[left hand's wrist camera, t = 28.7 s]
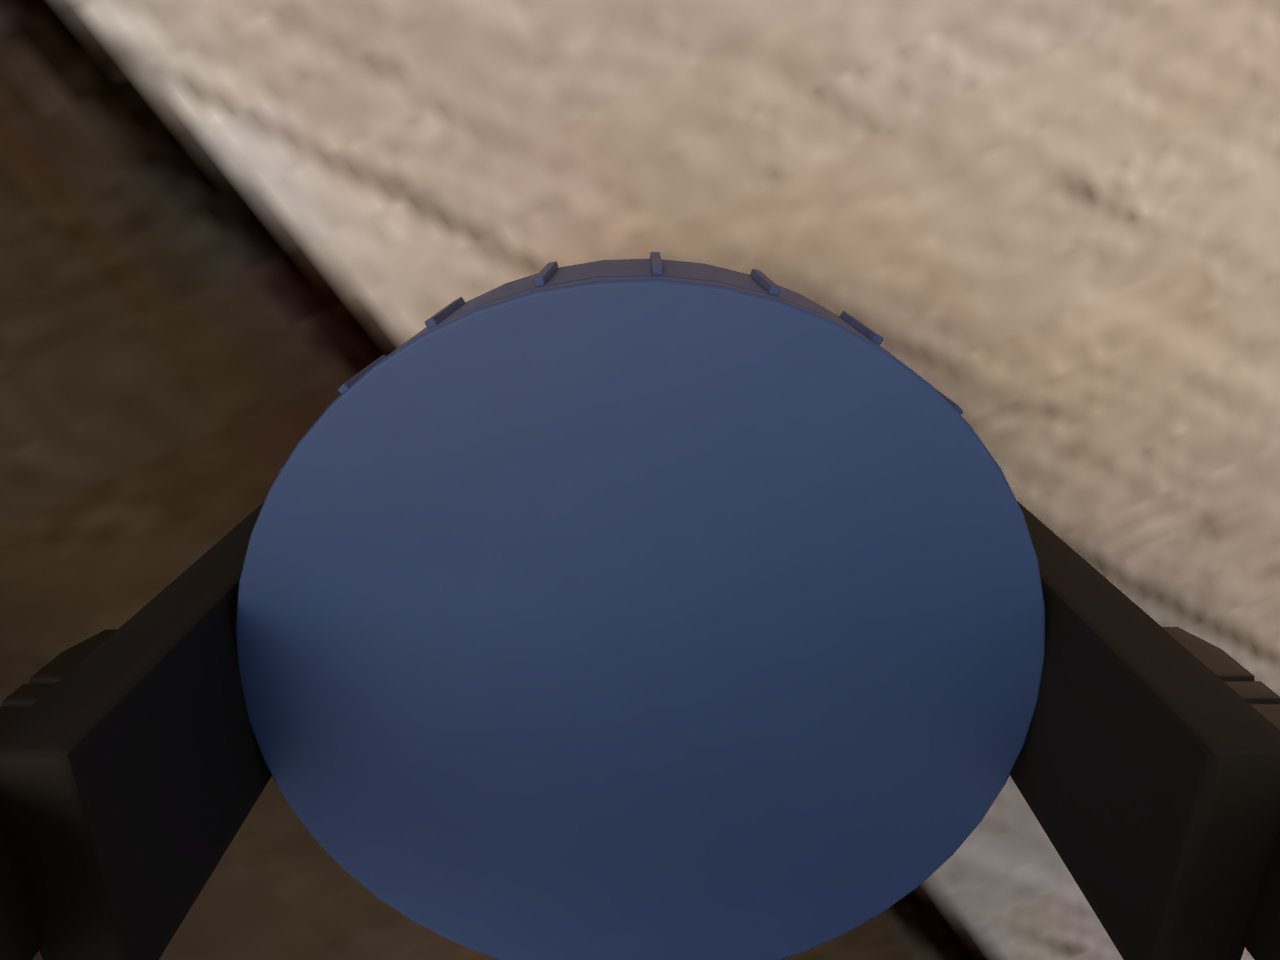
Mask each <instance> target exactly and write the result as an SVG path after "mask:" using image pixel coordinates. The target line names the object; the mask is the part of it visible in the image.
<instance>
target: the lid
mask: <svg viewBox="0 0 1280 960" xmlns="http://www.w3.org/2000/svg"><path fill="white" fill-rule="evenodd" d="M425 324H426V326H427V327H426V328H425V329H423V330H422V331H421V332H419V333H418V334H416V335H415V336H414V337H412V338H411V339H410V340H408V341H407V342H406V343H404V344H403V345H401V346H400V347H399V348H397V349H396V350H395V351H393V352H392V353H391V354H389V355H388V356H387V357H386V356H385V355H383V356H381V357H380V358H378V359H377V360H376V361H374V362H373V363H372V364H370V365H369V366H367V367H366V368H365V369H363V370H362V371H360V372H359V373H358V374H356V375H355V376H353V377H352V378H351V379H349V380H348V381H347V382H345V383H344V384H343V385H342V386H341V387H340V388H339V389H338V391H339V392H340V393H341V395H340V396H339V397H338V398H337V399H336V400H334V401H333V402H332V403H331V404H330V406H329V407H328V408H327V409H326V410H325V412H324V413H323V414H322V415H321V416H320V417H319V419H318V420H317V421H316V422H315V423H314V425H313V426H312V427H311V428H310V429H309V430H308V432H307V433H306V434H305V435H304V436H303V438H302V439H301V440H300V441H299V442H298V444H297V445H296V447H295V448H294V450H293V452H292V453H291V455H290V456H289V458H288V460H287V461H286V463H285V465H284V466H283V467H282V468H281V470H280V472H279V474H278V476H277V478H276V479H275V481H274V483H273V484H272V486H271V488H270V490H269V492H268V494H267V497H266V499H265V502H264V504H263V506H262V509H261V511H260V514H259V516H258V518H257V521H256V523H255V526H254V528H253V531H252V533H251V536H250V540H249V544H248V548H247V553H246V557H245V561H244V565H243V569H242V573H241V577H240V581H239V593H238V606H237V618H236V643H237V657H238V666H239V672H240V678H241V683H242V688H243V693H244V698H245V703H246V708H247V713H248V718H249V722H250V725H251V727H252V730H253V733H254V735H255V738H256V740H257V743H258V746H259V748H260V751H261V754H262V756H263V759H264V761H265V763H266V765H267V767H268V769H269V771H270V773H271V774H272V776H273V778H274V780H275V782H276V783H277V785H278V787H279V789H280V791H281V793H282V794H283V796H284V798H285V800H286V801H287V803H288V804H289V806H290V807H291V808H292V810H293V811H294V812H295V814H296V815H297V816H298V818H299V819H300V821H301V822H302V823H303V825H304V826H305V827H306V829H307V830H308V831H309V833H310V834H311V836H312V837H313V838H314V839H315V840H316V841H317V842H318V843H319V844H320V845H321V846H322V847H323V849H324V850H325V851H326V852H327V853H328V854H329V855H330V856H331V857H332V858H333V859H334V860H335V861H336V862H337V863H338V864H339V865H340V867H341V868H342V869H343V870H345V871H346V872H347V873H348V874H349V875H351V876H352V877H353V878H354V879H355V880H357V881H358V882H359V883H360V884H361V885H363V886H364V887H365V888H366V889H367V890H369V891H370V892H371V893H372V894H373V895H375V896H376V897H377V898H379V899H380V900H382V901H383V902H385V903H386V904H388V905H389V906H391V907H392V908H394V909H395V910H397V911H398V912H400V913H401V914H403V915H404V916H406V917H407V918H409V919H410V920H412V921H413V922H415V923H417V924H419V925H421V926H423V927H425V928H427V929H429V930H431V931H433V932H435V933H437V934H439V935H441V936H442V937H444V938H446V939H448V940H450V941H452V942H454V943H457V944H459V945H462V946H464V947H467V948H470V949H472V950H475V951H477V952H480V953H483V954H485V955H488V956H490V957H493V958H495V959H499V960H781V959H784V958H787V957H790V956H793V955H796V954H799V953H802V952H805V951H807V950H810V949H812V948H814V947H816V946H819V945H821V944H823V943H825V942H828V941H830V940H832V939H834V938H837V937H839V936H841V935H843V934H846V933H847V932H849V931H851V930H853V929H854V928H856V927H858V926H859V925H861V924H863V923H865V922H866V921H868V920H870V919H872V918H873V917H875V916H877V915H879V914H880V913H882V912H884V911H885V910H887V909H888V908H889V907H891V906H892V905H893V904H895V903H896V902H897V901H899V900H900V899H902V898H903V897H904V896H906V895H907V894H908V893H910V892H911V891H913V890H914V889H915V888H917V887H918V886H919V885H920V884H922V883H923V882H924V881H925V880H926V879H927V878H928V877H929V876H930V875H931V874H932V873H933V872H935V871H936V870H937V869H938V868H939V867H940V866H941V865H942V864H943V863H944V862H945V861H946V860H948V859H949V858H950V857H951V856H952V855H953V854H954V852H955V851H956V850H957V849H958V848H959V847H960V845H961V844H962V843H963V842H964V841H965V839H966V838H967V837H968V836H969V835H970V834H971V832H972V831H973V830H974V829H975V828H976V827H977V825H978V824H979V823H980V822H981V820H982V819H983V817H984V816H985V814H986V813H987V811H988V810H989V808H990V807H991V805H992V804H993V802H994V800H995V799H996V797H997V796H998V794H999V793H1000V791H1001V790H1002V788H1003V787H1004V785H1005V783H1006V781H1007V779H1008V777H1009V775H1010V773H1011V771H1012V769H1013V766H1014V764H1015V762H1016V760H1017V758H1018V756H1019V754H1020V752H1021V750H1022V747H1023V745H1024V743H1025V740H1026V737H1027V733H1028V730H1029V727H1030V724H1031V721H1032V717H1033V714H1034V711H1035V708H1036V704H1037V699H1038V694H1039V688H1040V683H1041V677H1042V670H1043V664H1044V657H1045V605H1044V598H1043V592H1042V585H1041V578H1040V572H1039V565H1038V560H1037V556H1036V553H1035V550H1034V547H1033V544H1032V541H1031V537H1030V534H1029V531H1028V528H1027V525H1026V522H1025V518H1024V515H1023V513H1022V511H1021V509H1020V507H1019V505H1018V503H1017V501H1016V499H1015V497H1014V495H1013V493H1012V491H1011V489H1010V487H1009V485H1008V483H1007V481H1006V479H1005V477H1004V474H1003V472H1002V470H1001V468H1000V467H999V466H998V464H997V463H996V461H995V460H994V459H993V457H992V456H991V454H990V453H989V451H988V450H987V449H986V447H985V446H984V444H983V443H982V442H981V440H980V439H979V437H978V436H977V434H976V433H975V432H974V430H973V429H972V427H971V426H970V425H969V424H968V423H967V422H966V421H965V420H964V419H963V418H962V416H961V414H962V413H963V411H962V410H961V408H960V407H959V406H958V405H957V404H955V403H954V402H953V401H951V400H950V399H948V398H947V397H946V396H944V395H943V394H942V393H940V392H939V391H938V390H936V389H935V388H934V387H933V386H932V385H930V384H929V383H928V382H926V381H925V380H924V379H923V378H921V377H920V376H919V375H917V374H916V373H915V372H913V371H912V370H911V369H910V368H908V367H907V366H906V365H904V364H903V363H902V362H901V361H899V360H898V359H897V358H895V357H894V356H893V355H891V354H890V353H889V352H888V351H886V350H885V349H883V348H882V347H881V346H879V345H880V344H881V342H882V341H883V340H884V339H883V338H882V337H881V336H879V335H878V334H876V333H875V332H873V331H872V330H870V329H869V328H868V327H866V326H865V325H863V324H862V323H860V322H859V321H857V320H856V319H855V318H853V317H852V316H850V315H849V314H847V313H846V312H844V311H843V312H842V313H841V315H840V316H837V315H836V314H834V313H832V312H830V311H829V310H827V309H825V308H823V307H821V306H820V305H818V304H816V303H814V302H813V301H811V300H809V299H807V298H806V297H804V296H802V295H800V294H798V293H795V292H793V291H790V290H788V289H785V288H783V287H780V286H778V285H776V284H775V283H774V282H772V281H771V280H770V279H769V278H768V277H766V276H765V275H764V274H763V273H762V272H760V271H758V270H755V269H752V272H751V275H748V274H744V273H740V272H735V271H731V270H727V269H723V268H719V267H715V266H711V265H707V264H700V263H690V262H681V261H671V260H662V259H661V257H660V253H659V252H651V256H650V259H630V260H603V261H597V262H591V263H585V264H579V265H573V266H567V267H561V268H558V265H557V262H552V263H548V264H547V265H546V266H545V267H544V268H543V269H542V270H541V271H540V273H538V274H535V275H532V276H529V277H525V278H522V279H519V280H516V281H513V282H509V283H506V284H504V285H502V286H500V287H498V288H496V289H493V290H491V291H489V292H487V293H485V294H483V295H481V296H479V297H476V298H474V299H472V300H470V301H468V302H466V303H465V302H464V300H463V298H462V297H460V298H459V299H457V300H455V301H454V302H452V303H451V304H449V305H448V306H447V307H445V308H444V309H442V310H441V311H440V312H438V313H437V314H435V315H434V316H432V317H431V318H430V319H428V320H427V321H425Z"/></svg>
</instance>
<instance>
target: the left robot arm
mask: <svg viewBox="0 0 1280 960" xmlns="http://www.w3.org/2000/svg"><path fill="white" fill-rule="evenodd" d="M1016 501H1017V500H1016ZM1017 503H1018V505H1019V507H1020V509H1021V511H1022V513H1023V515H1024V518H1025V522H1026V525H1027V528H1028V531H1029V534H1030V537H1031V541H1032V544H1033V547H1034V550H1035V553H1036V556H1037V560H1038V565H1039V572H1040V578H1041V585H1042V592H1043V598H1044V605H1045V657H1044V664H1043V670H1042V677H1041V683H1040V688H1039V694H1038V699H1037V704H1036V708H1035V711H1034V714H1033V717H1032V721H1031V724H1030V727H1029V730H1028V733H1027V737H1026V740H1025V743H1024V745H1023V747H1022V750H1021V752H1020V754H1019V756H1018V758H1017V760H1016V762H1015V764H1014V766H1013V769H1012V771H1011V773H1010V776H1011V777H1012V779H1013V780H1014V782H1015V784H1016V785H1017V787H1018V789H1019V790H1020V792H1021V793H1022V795H1023V797H1024V798H1025V800H1026V802H1027V803H1028V805H1029V806H1030V808H1031V810H1032V811H1033V813H1034V815H1035V816H1036V818H1037V819H1038V821H1039V823H1040V824H1041V826H1042V828H1043V829H1044V831H1045V832H1046V834H1047V836H1048V837H1049V839H1050V841H1051V842H1052V844H1053V845H1054V847H1055V849H1056V850H1057V852H1058V854H1059V855H1060V857H1061V858H1062V860H1063V862H1064V863H1065V865H1066V867H1067V868H1068V870H1069V871H1070V873H1071V875H1072V876H1073V878H1074V880H1075V881H1076V883H1077V884H1078V886H1079V888H1080V889H1081V891H1082V893H1083V894H1084V896H1085V897H1086V899H1087V901H1088V902H1089V904H1090V906H1091V907H1092V909H1093V910H1094V912H1095V914H1096V915H1097V917H1098V919H1099V920H1100V922H1101V923H1102V925H1103V927H1104V928H1105V930H1106V932H1107V933H1108V935H1109V936H1110V938H1111V940H1112V941H1113V943H1114V945H1115V946H1116V948H1117V949H1118V951H1119V953H1120V954H1121V956H1122V958H1123V959H1124V960H1241V957H1242V954H1243V951H1244V948H1246V949H1247V950H1248V952H1249V953H1250V954H1251V955H1252V957H1253V958H1254V959H1255V960H1280V697H1279V696H1278V695H1277V694H1275V693H1274V692H1273V691H1272V690H1270V689H1269V688H1268V687H1267V686H1266V685H1264V684H1263V683H1262V682H1261V681H1255V680H1254V676H1253V675H1252V674H1251V673H1250V672H1249V671H1247V670H1246V669H1245V668H1244V667H1242V666H1241V665H1240V664H1239V663H1238V662H1236V661H1235V660H1234V659H1233V658H1231V657H1230V656H1229V655H1228V654H1227V653H1225V652H1224V651H1223V650H1222V649H1220V648H1218V647H1216V646H1214V645H1212V644H1210V643H1208V642H1206V641H1204V640H1202V639H1200V638H1198V637H1196V636H1194V635H1192V634H1190V633H1188V632H1186V631H1184V630H1182V629H1180V628H1178V627H1161V626H1160V625H1159V624H1158V623H1156V622H1155V621H1154V620H1153V619H1152V618H1151V617H1150V616H1148V615H1147V614H1146V613H1145V612H1144V611H1143V610H1141V609H1140V608H1139V607H1138V606H1137V605H1136V604H1135V603H1133V602H1132V601H1131V600H1130V599H1129V598H1128V597H1127V596H1125V595H1124V594H1123V593H1122V592H1121V591H1120V590H1119V589H1117V588H1116V587H1115V586H1114V585H1113V584H1112V583H1111V582H1109V581H1108V580H1107V579H1106V578H1105V577H1104V576H1103V575H1101V574H1100V573H1099V572H1098V571H1097V570H1096V569H1094V568H1093V567H1092V566H1091V565H1090V564H1089V563H1088V562H1086V561H1085V560H1084V559H1083V558H1082V557H1081V556H1080V555H1078V554H1077V553H1076V552H1075V551H1074V550H1073V549H1072V548H1070V547H1069V546H1068V545H1067V544H1066V543H1065V542H1064V541H1062V540H1061V539H1060V538H1059V537H1058V536H1057V535H1055V534H1054V533H1053V532H1052V531H1051V530H1050V529H1049V528H1047V527H1046V526H1045V525H1044V524H1043V523H1042V522H1041V521H1039V520H1038V519H1037V518H1036V517H1035V516H1034V515H1033V514H1031V513H1030V512H1029V511H1028V510H1027V509H1026V508H1025V507H1023V506H1022V505H1021V504H1020V503H1019V502H1018V501H1017ZM263 504H264V503H262V504H261V505H260V506H259V507H258V508H257V509H256V510H254V511H253V512H252V513H251V514H250V515H249V516H248V517H246V518H245V519H244V520H243V521H242V522H241V523H240V524H238V525H237V526H236V527H235V528H234V529H233V530H232V531H230V532H229V533H228V534H227V535H226V536H225V537H224V538H222V539H221V540H220V541H219V542H218V543H217V544H216V545H214V546H213V547H212V548H211V549H210V550H209V551H208V552H206V553H205V554H204V555H203V556H202V557H201V558H199V559H198V560H197V561H196V562H195V563H194V564H193V565H191V566H190V567H189V568H188V569H187V570H186V571H185V572H183V573H182V574H181V575H180V576H179V577H178V578H177V579H175V580H174V581H173V582H172V583H171V584H170V585H169V586H167V587H166V588H165V589H164V590H163V591H162V592H161V593H159V594H158V595H157V596H156V597H155V598H154V599H153V600H151V601H150V602H149V603H148V604H147V605H146V606H145V607H143V608H142V609H141V610H140V611H139V612H138V613H137V614H135V615H134V616H133V617H132V618H131V619H130V620H129V621H127V622H126V623H125V624H124V625H123V626H122V627H120V628H119V629H118V630H105V631H103V632H101V633H99V634H97V635H95V636H93V637H91V638H89V639H87V640H85V641H83V642H81V643H79V644H77V645H75V646H73V647H71V648H69V649H67V650H66V651H64V652H62V653H61V654H59V655H58V656H57V657H56V658H54V659H53V660H52V661H51V662H50V663H48V664H47V665H46V666H45V667H44V668H42V669H41V670H40V671H39V672H38V673H36V674H35V675H34V676H33V677H32V678H30V683H29V684H23V685H22V686H21V687H19V688H18V689H17V690H16V691H15V692H13V693H12V694H11V695H10V696H9V697H7V698H6V699H5V700H4V701H3V705H2V707H0V960H32V959H33V957H34V956H35V955H36V953H37V952H38V951H39V950H40V953H41V956H42V959H43V960H159V958H160V957H161V955H162V953H163V952H164V950H165V949H166V947H167V945H168V944H169V942H170V940H171V939H172V937H173V936H174V934H175V932H176V931H177V929H178V927H179V926H180V924H181V923H182V921H183V919H184V918H185V916H186V914H187V913H188V911H189V910H190V908H191V906H192V905H193V903H194V901H195V900H196V898H197V897H198V895H199V893H200V892H201V890H202V888H203V887H204V885H205V884H206V882H207V880H208V879H209V877H210V875H211V874H212V872H213V870H214V869H215V867H216V866H217V864H218V862H219V861H220V859H221V857H222V856H223V854H224V853H225V851H226V849H227V848H228V846H229V844H230V843H231V841H232V840H233V838H234V836H235V835H236V833H237V831H238V830H239V828H240V827H241V825H242V823H243V822H244V820H245V818H246V817H247V815H248V814H249V812H250V810H251V809H252V807H253V805H254V804H255V802H256V801H257V799H258V797H259V796H260V794H261V792H262V791H263V789H264V788H265V786H266V784H267V783H268V781H269V779H270V778H271V776H272V774H271V773H270V771H269V769H268V767H267V765H266V763H265V761H264V759H263V756H262V754H261V751H260V748H259V746H258V743H257V740H256V738H255V735H254V733H253V730H252V727H251V725H250V722H249V718H248V713H247V708H246V703H245V698H244V693H243V688H242V683H241V678H240V672H239V666H238V657H237V643H236V618H237V606H238V593H239V581H240V577H241V573H242V569H243V565H244V561H245V557H246V553H247V548H248V544H249V540H250V536H251V533H252V531H253V528H254V526H255V523H256V521H257V518H258V516H259V514H260V511H261V509H262V506H263Z"/></svg>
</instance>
